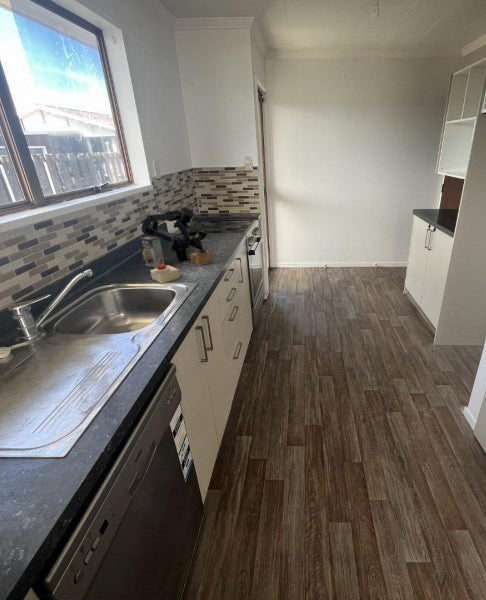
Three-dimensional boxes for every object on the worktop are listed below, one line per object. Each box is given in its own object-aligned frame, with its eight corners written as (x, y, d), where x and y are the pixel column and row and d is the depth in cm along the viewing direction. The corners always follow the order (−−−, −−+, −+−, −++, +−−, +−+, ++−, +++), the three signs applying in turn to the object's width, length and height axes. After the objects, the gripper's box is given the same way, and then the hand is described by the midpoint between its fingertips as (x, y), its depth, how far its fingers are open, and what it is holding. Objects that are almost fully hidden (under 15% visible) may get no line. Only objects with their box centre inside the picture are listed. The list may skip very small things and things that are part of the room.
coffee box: (144, 266, 185) (138, 238, 178) (153, 262, 191) (147, 235, 184) (156, 268, 182) (150, 239, 175) (165, 264, 187) (159, 236, 181)
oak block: (191, 262, 190) (189, 250, 187) (203, 259, 196) (201, 247, 193) (201, 266, 184) (199, 254, 181) (213, 263, 189) (212, 251, 186)
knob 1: (156, 269, 163) (155, 265, 162) (163, 267, 165) (163, 263, 164) (160, 271, 160) (159, 267, 159) (167, 268, 163) (167, 264, 162)
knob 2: (197, 253, 186) (197, 250, 185) (203, 251, 188) (203, 248, 188) (201, 254, 183) (201, 251, 183) (207, 253, 186) (207, 250, 185)
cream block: (151, 279, 167) (148, 267, 164) (170, 273, 174) (168, 261, 171) (161, 284, 161) (158, 271, 158) (180, 278, 168) (178, 266, 165)
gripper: (177, 222, 173) (196, 245, 173) (202, 216, 187) (220, 237, 187) (169, 235, 179) (187, 257, 179) (194, 228, 194) (211, 248, 194)
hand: (202, 249), depth 185 cm, fingers closed, pressing on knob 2
